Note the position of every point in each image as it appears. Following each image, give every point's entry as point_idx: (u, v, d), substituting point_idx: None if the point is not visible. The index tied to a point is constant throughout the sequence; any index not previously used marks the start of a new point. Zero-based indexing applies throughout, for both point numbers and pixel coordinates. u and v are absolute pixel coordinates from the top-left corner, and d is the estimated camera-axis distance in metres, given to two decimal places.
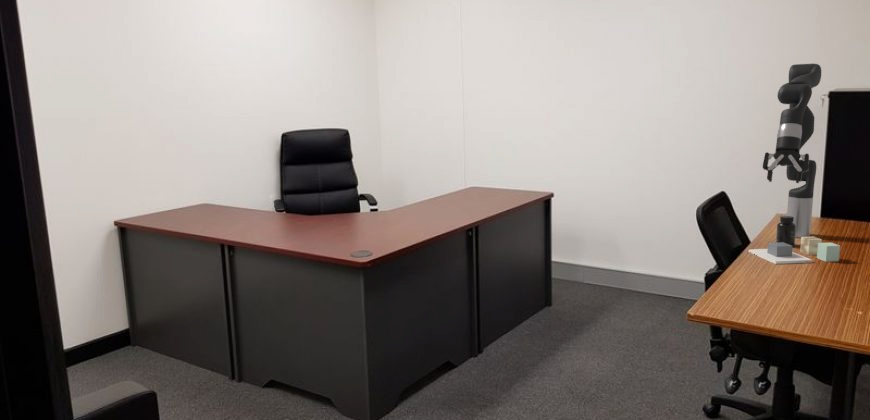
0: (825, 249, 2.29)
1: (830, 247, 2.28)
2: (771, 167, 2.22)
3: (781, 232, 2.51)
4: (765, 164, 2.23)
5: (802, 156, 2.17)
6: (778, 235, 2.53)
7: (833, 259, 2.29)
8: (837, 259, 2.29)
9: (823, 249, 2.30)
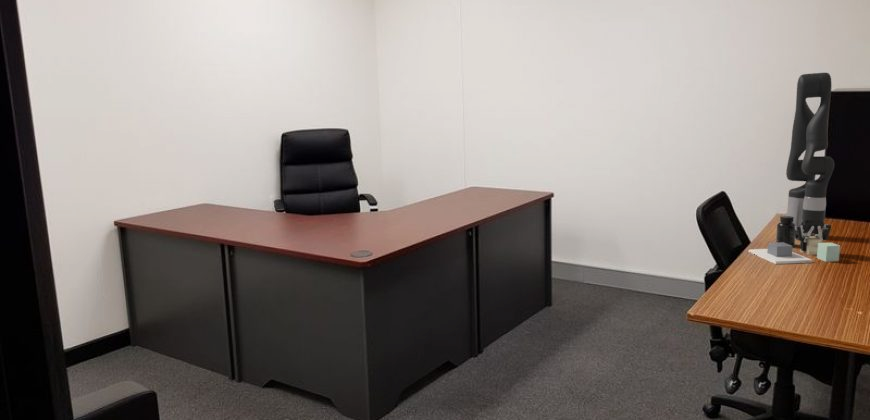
0: (825, 249, 2.29)
1: (830, 247, 2.28)
2: (806, 239, 2.39)
3: (781, 232, 2.51)
4: (801, 237, 2.39)
5: (825, 226, 2.39)
6: (778, 235, 2.53)
7: (833, 259, 2.29)
8: (837, 259, 2.29)
9: (823, 249, 2.30)
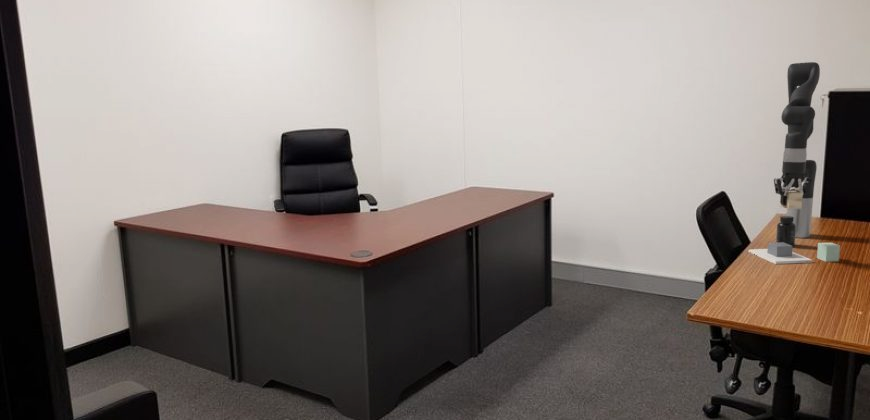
0: (825, 249, 2.29)
1: (830, 247, 2.28)
2: (786, 193, 2.31)
3: (781, 232, 2.51)
4: (781, 190, 2.31)
5: (805, 179, 2.32)
6: (778, 235, 2.53)
7: (833, 259, 2.29)
8: (837, 259, 2.29)
9: (823, 249, 2.30)
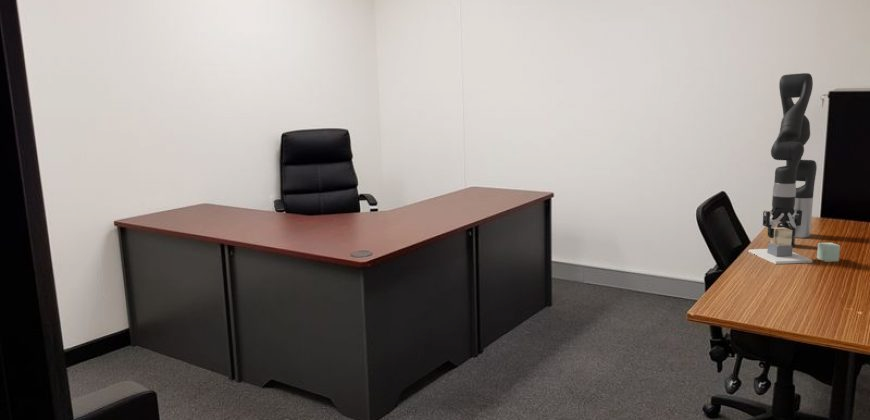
0: (825, 249, 2.29)
1: (830, 247, 2.28)
2: (773, 225, 2.33)
3: None
4: (768, 223, 2.33)
5: (795, 212, 2.33)
6: None
7: (833, 259, 2.29)
8: (837, 259, 2.29)
9: (823, 249, 2.30)
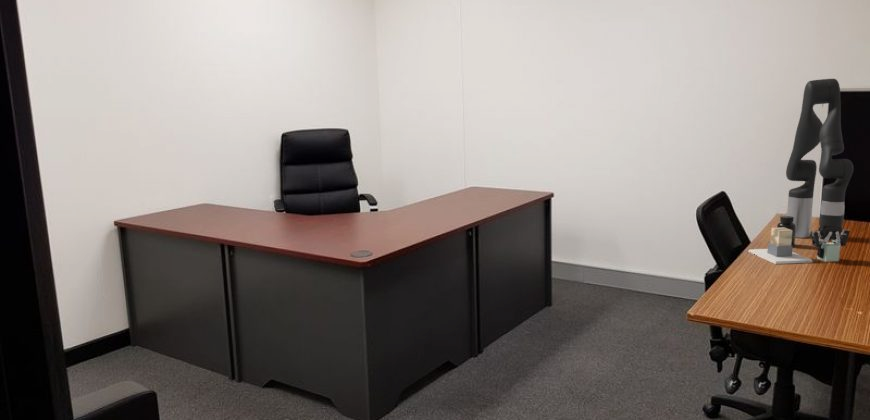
0: (825, 249, 2.29)
1: (830, 247, 2.28)
2: (824, 245, 2.29)
3: None
4: (818, 243, 2.29)
5: (843, 231, 2.29)
6: None
7: (833, 259, 2.29)
8: (837, 259, 2.29)
9: None
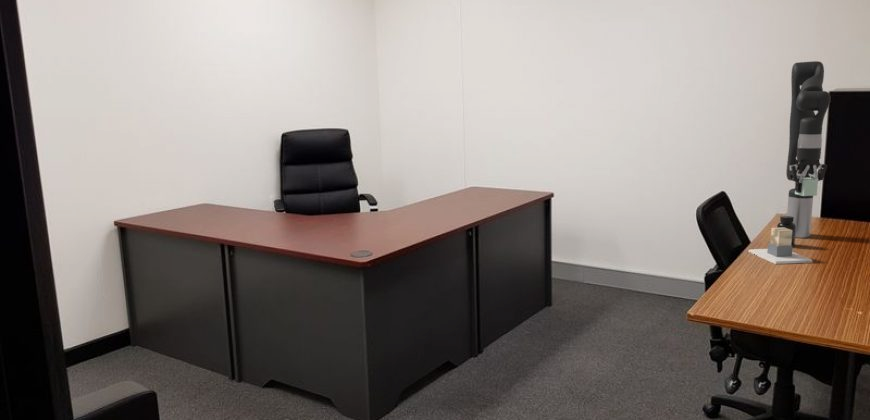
0: (803, 183, 2.27)
1: (808, 181, 2.26)
2: (801, 179, 2.27)
3: None
4: (796, 177, 2.27)
5: (820, 165, 2.28)
6: None
7: (811, 193, 2.27)
8: (815, 193, 2.27)
9: None
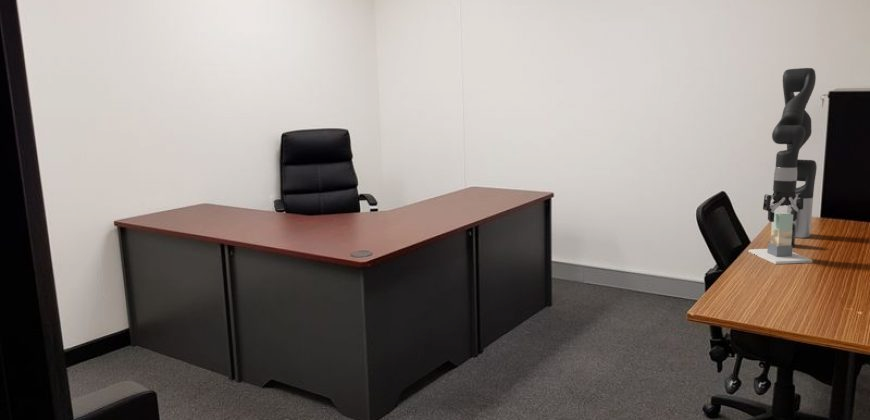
0: (779, 218, 2.32)
1: (783, 216, 2.31)
2: (774, 209, 2.32)
3: None
4: (769, 207, 2.31)
5: (797, 196, 2.32)
6: None
7: (786, 228, 2.32)
8: (790, 228, 2.32)
9: (777, 218, 2.33)
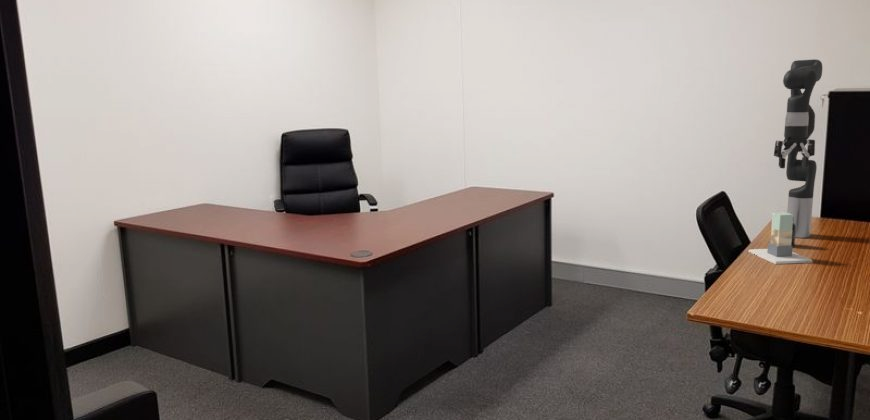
0: (779, 218, 2.32)
1: (783, 216, 2.31)
2: (785, 155, 2.30)
3: None
4: (780, 153, 2.30)
5: (808, 142, 2.31)
6: None
7: (786, 228, 2.32)
8: (790, 228, 2.32)
9: (777, 218, 2.33)
